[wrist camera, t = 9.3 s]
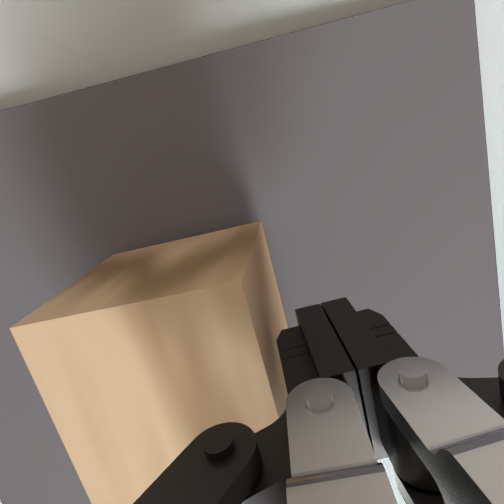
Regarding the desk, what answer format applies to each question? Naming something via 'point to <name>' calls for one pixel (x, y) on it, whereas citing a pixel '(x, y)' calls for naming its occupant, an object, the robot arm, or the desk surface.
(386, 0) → the desk surface
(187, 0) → the desk surface
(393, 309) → the rubber mat
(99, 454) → the oak cube
